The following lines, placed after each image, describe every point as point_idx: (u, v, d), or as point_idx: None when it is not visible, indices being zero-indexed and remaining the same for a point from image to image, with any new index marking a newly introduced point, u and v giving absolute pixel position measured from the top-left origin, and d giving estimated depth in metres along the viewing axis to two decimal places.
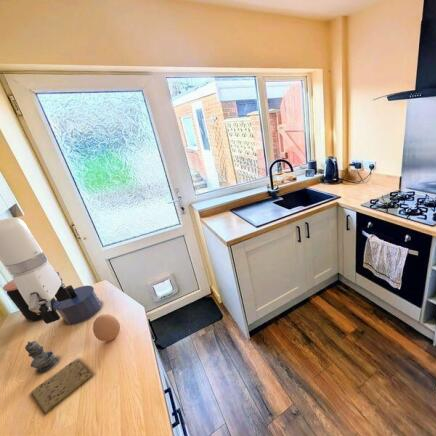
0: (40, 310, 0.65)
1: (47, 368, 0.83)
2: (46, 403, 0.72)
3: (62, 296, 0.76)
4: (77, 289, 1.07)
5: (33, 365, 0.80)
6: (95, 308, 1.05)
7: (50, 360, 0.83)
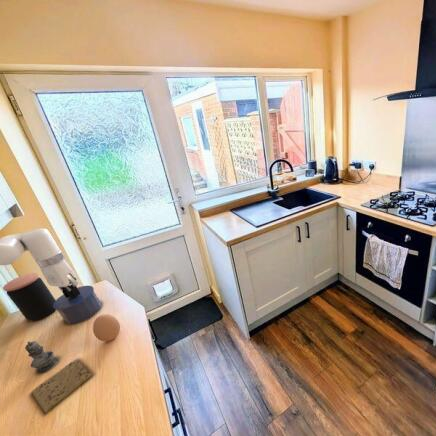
0: None
1: (47, 368, 0.83)
2: (46, 403, 0.72)
3: None
4: None
5: (33, 365, 0.80)
6: (95, 308, 1.05)
7: (50, 360, 0.83)
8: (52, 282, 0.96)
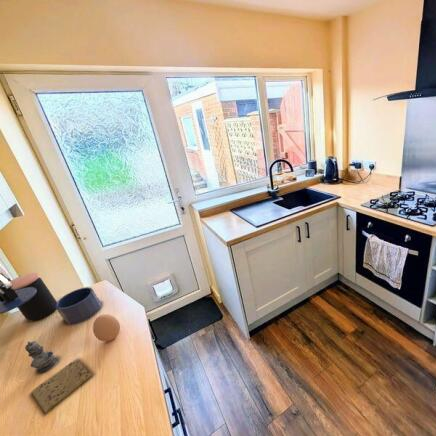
0: None
1: (47, 368, 0.83)
2: (46, 403, 0.72)
3: None
4: (17, 291, 0.92)
5: (33, 365, 0.80)
6: (95, 308, 1.05)
7: (50, 360, 0.83)
8: None
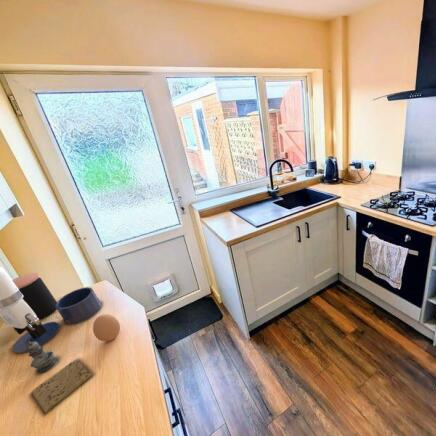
0: (39, 322, 0.90)
1: (47, 368, 0.83)
2: (46, 403, 0.72)
3: (23, 328, 0.95)
4: None
5: (33, 365, 0.80)
6: (95, 308, 1.05)
7: (50, 360, 0.83)
8: (9, 323, 0.89)
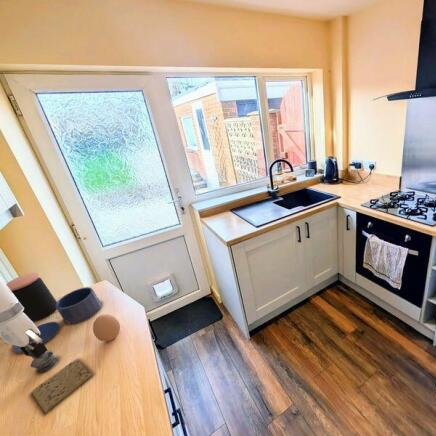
0: None
1: (47, 368, 0.83)
2: (46, 403, 0.72)
3: None
4: (42, 326, 1.00)
5: (33, 365, 0.80)
6: (95, 308, 1.05)
7: (50, 360, 0.83)
8: (7, 340, 0.75)
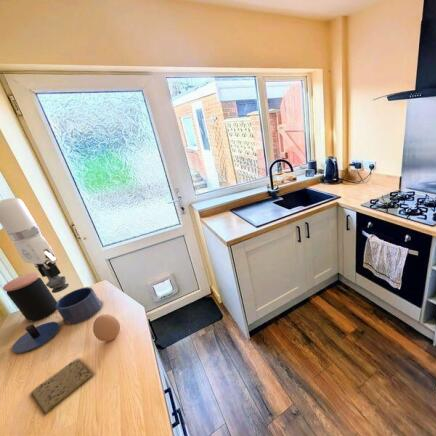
0: None
1: (60, 289, 0.95)
2: (46, 403, 0.72)
3: None
4: (42, 326, 1.00)
5: (48, 284, 0.93)
6: (95, 308, 1.05)
7: (63, 282, 0.95)
8: (27, 258, 0.88)
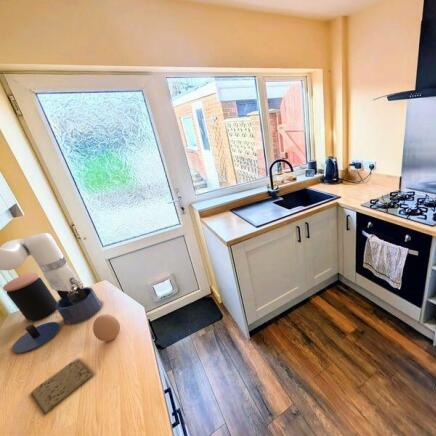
0: (82, 286, 0.99)
1: None
2: (46, 403, 0.72)
3: (64, 293, 1.03)
4: (42, 326, 1.00)
5: None
6: (95, 308, 1.05)
7: None
8: (55, 286, 0.97)
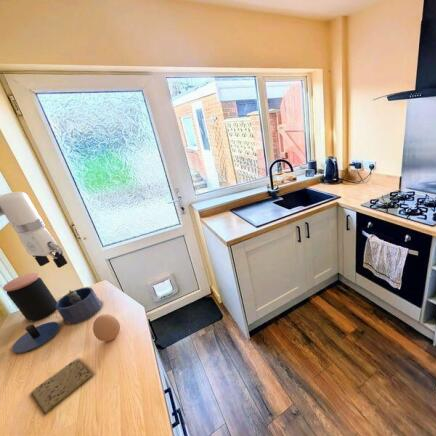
0: (61, 251, 0.92)
1: None
2: (46, 403, 0.72)
3: (44, 260, 0.96)
4: (42, 326, 1.00)
5: None
6: (95, 308, 1.05)
7: None
8: (31, 251, 0.90)
